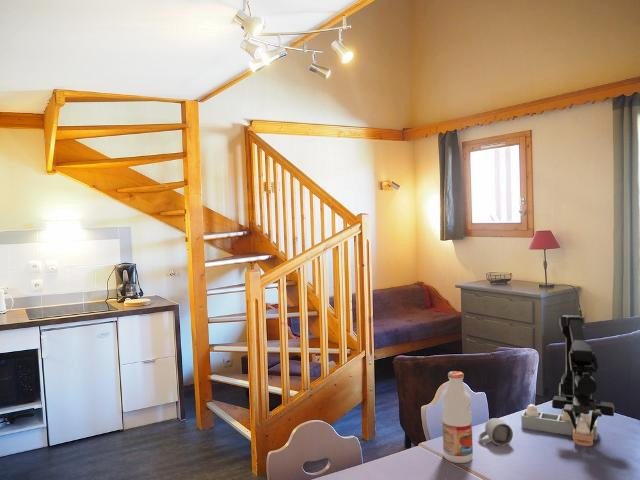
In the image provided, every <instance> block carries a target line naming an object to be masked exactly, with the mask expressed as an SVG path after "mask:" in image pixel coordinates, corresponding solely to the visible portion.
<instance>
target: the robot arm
mask: <svg viewBox="0 0 640 480" xmlns="http://www.w3.org/2000/svg"><path fill="white" fill-rule="evenodd" d="M558 322H559V328H560V330H561V332H562V334H563V336H564V337H565V372H564V373H563V374H562V376H561V378H560V379H561V380H560V381H561V382H559V385H558V395H554V397H552V402H551V408H553V409H555V410H557V409H558V410H561V413H562V412H563V410H564V412H567V413H568V415H569V416H570V418H571V421H572V423H573V426H574V429H576V418H575V417H581V414H582V413H584V414H589V413H590V412H592V413H591V424H590V432H592V429H593V426H594V423H595V421H596V420H598V418H600V417H602V416H607V417H614V416H615V405H614V404H613V402H607V401H600V404H599V403H598V404H597V403H596V402H597V401H596V399H593V397H592V396H593V394H594V393H595V392H596V391H597V388H598V386H597V385H598V384H597V383H596V381H595V379H594V377H593V375H592V373H598V372H597V370H598V368H599V365H598V360H597V359H598V358H597V355H595V352H593V350H592V347H591V345H590V344H588V343H587V342H586V337H585V333H584V328H586V319H585V317H583V316H581V315H572V314H571V315H570V314H564V315H562V316H560V317H559V319H558Z"/></svg>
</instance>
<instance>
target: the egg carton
mask: <svg viewBox="0 0 640 480" xmlns="http://www.w3.org/2000/svg"><path fill="white" fill-rule="evenodd" d="M562 410H563V409H562ZM520 417H521V429H528V430H532V431H533V430H535V431H539V432H548V433H553V434H559V433H560V434H561V435H565V434H566V435H565V436H571V435H572V437H573V430H574V426H573V423H572V421H571V418H570V416H569V415H568V413H567V412H564V410H563V412H562V411H561V414H556V413H551V412H550V413H548V412H542V411H538V408H537V405H535V404H531V403H530V404H529V405H528V406H527V407H526V409H523V412H522V414H521V416H520ZM591 417H592V413H590V412H589V414H584V413H581V414H580V416H575V418H576V426H577V423H578V421H579V420H580V419H584V420H586V421H587V422H588V424H589V427H590V424H591ZM592 430H593V432H594V436H593V440H597V439H598V419H596V421H595V423H594V426H593V429H592Z"/></svg>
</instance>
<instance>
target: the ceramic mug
mask: <svg viewBox="0 0 640 480" xmlns="http://www.w3.org/2000/svg"><path fill="white" fill-rule="evenodd" d="M484 429H485V430H484V431H483V432H481V433H480V434H479V435H478V440H479V442H480V443H481V444H489V443H491V442H493V443H494V444H495V445H497V446H499V447H503V446H504V447H505V446H507V445H509V444H510V443H511V442H512V440H513V438H514V432H513V429H512V427H511V425H509V424H507V423H506V422H505V421H504V420H502V419H500V418H496V417H493V418H492V417H491V418H490V419H488V420H487V421H486V423H485V427H484ZM486 436H488V437H486ZM484 437H486V438H484Z"/></svg>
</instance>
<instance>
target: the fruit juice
mask: <svg viewBox="0 0 640 480" xmlns="http://www.w3.org/2000/svg"><path fill="white" fill-rule="evenodd" d="M464 376H465V374H464V373H463V372H462V371H457V370H453V371H452V370H451V371H449V372H448V373H447V377H448V385H447V387H446V390H445V391H444V392H443V394H442V399H441V401H442V405H443V410H442V414H441V415H442V416H441V417H442V419H441V420H442V454H443V458H444V459H446V460H447V461H448V462H450V463H454V464H466V463H469V462H471V461H472V460H473V458H474V457H473V455H474V453H473V451H474V450H473V449H474V448H473V445H474V444H473V419H472V418H473V417H472V412H471V408H470V407H471V404H472V400H471V395H470V394H469V392H468V391H467V390H466V388H465V384H464V380H463V379H464V378H465V377H464Z"/></svg>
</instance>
